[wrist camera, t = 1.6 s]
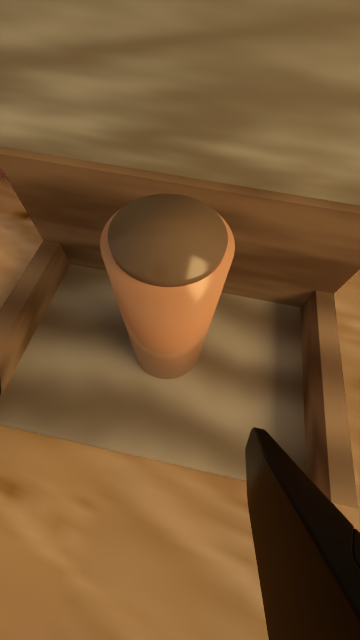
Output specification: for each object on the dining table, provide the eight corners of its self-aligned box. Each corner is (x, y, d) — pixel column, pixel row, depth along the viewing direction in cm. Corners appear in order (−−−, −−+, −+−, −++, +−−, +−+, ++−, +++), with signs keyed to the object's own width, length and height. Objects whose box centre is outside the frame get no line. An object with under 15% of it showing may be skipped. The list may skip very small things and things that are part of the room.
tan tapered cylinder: (164, 394, 21) (161, 318, 9) (120, 343, 23) (70, 226, 11) (214, 348, 23) (265, 238, 11) (170, 306, 25) (173, 172, 13)
